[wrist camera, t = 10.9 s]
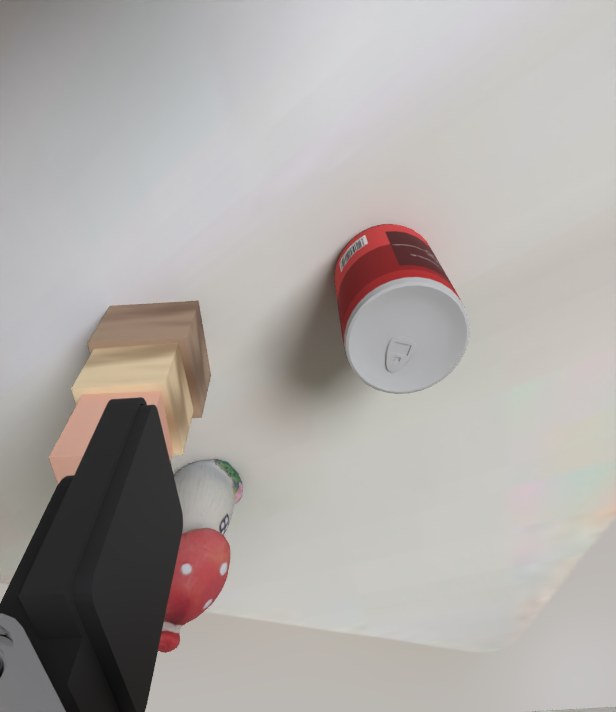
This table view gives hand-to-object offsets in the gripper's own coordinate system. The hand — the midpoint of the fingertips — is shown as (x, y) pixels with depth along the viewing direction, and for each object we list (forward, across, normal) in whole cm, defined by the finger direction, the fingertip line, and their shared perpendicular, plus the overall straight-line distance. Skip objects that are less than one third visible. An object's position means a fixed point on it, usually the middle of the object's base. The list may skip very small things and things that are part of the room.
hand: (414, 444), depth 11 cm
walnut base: (+33, +14, +16) cm, 40 cm away
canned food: (+34, -4, +11) cm, 35 cm away
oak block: (+28, +14, +16) cm, 35 cm away
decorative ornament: (+34, +13, +32) cm, 48 cm away
